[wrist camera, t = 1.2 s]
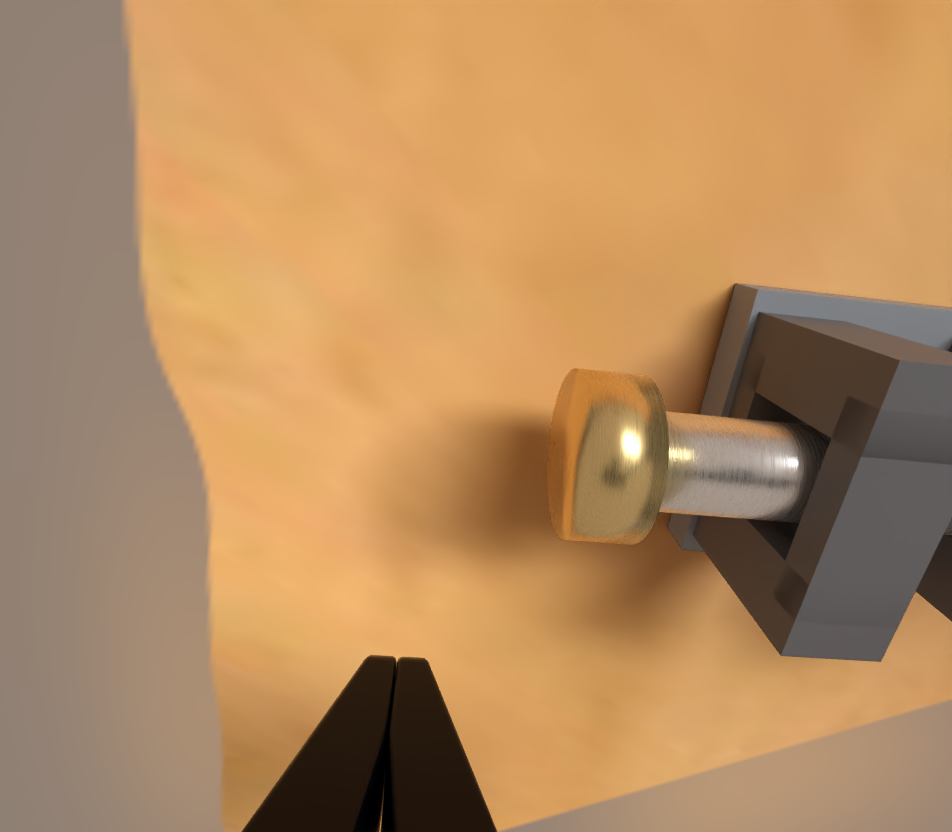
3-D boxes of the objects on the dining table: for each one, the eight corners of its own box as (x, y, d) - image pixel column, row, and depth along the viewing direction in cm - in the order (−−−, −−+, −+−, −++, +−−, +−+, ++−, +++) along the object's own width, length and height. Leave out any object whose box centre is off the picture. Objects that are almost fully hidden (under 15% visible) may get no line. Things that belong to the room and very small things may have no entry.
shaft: (987, 392, 19) (1166, 455, 14) (928, 518, 20) (1069, 611, 16) (564, 349, 17) (604, 402, 13) (540, 486, 19) (568, 576, 15)
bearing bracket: (1049, 318, 20) (1374, 380, 13) (936, 548, 23) (1142, 695, 16) (735, 283, 19) (901, 328, 12) (667, 528, 22) (764, 674, 15)
